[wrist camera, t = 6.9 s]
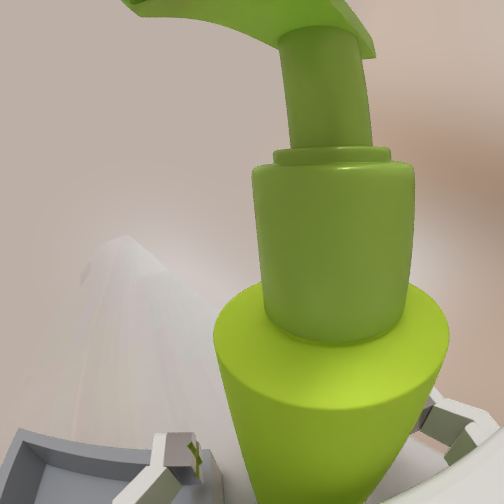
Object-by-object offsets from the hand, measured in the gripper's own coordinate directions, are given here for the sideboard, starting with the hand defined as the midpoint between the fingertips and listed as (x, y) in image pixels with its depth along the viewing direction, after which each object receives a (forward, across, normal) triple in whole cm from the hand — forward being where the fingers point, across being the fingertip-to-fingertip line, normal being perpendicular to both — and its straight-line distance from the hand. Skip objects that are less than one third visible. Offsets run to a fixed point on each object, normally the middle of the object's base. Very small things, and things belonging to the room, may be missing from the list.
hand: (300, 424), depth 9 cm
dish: (-5, -11, -8) cm, 15 cm away
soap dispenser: (-1, 0, -8) cm, 8 cm away
